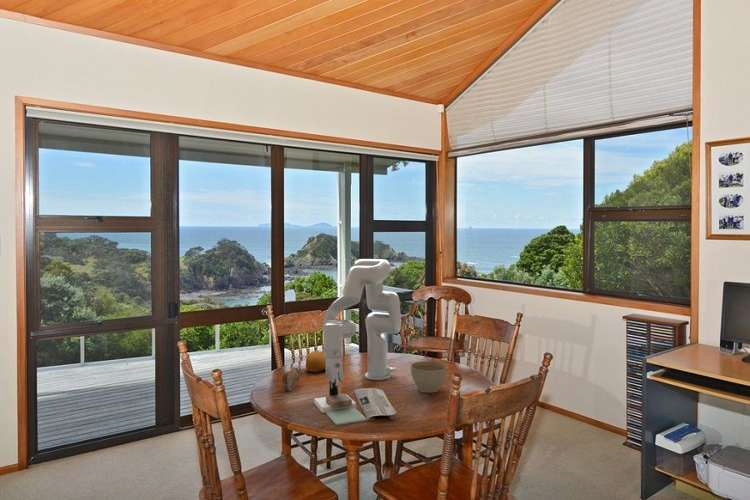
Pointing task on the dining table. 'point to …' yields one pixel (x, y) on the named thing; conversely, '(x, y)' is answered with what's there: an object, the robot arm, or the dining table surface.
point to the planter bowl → (428, 375)
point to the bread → (315, 361)
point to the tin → (290, 379)
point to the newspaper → (374, 403)
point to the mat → (345, 416)
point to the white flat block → (325, 407)
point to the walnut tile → (338, 401)
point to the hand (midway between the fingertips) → (333, 397)
